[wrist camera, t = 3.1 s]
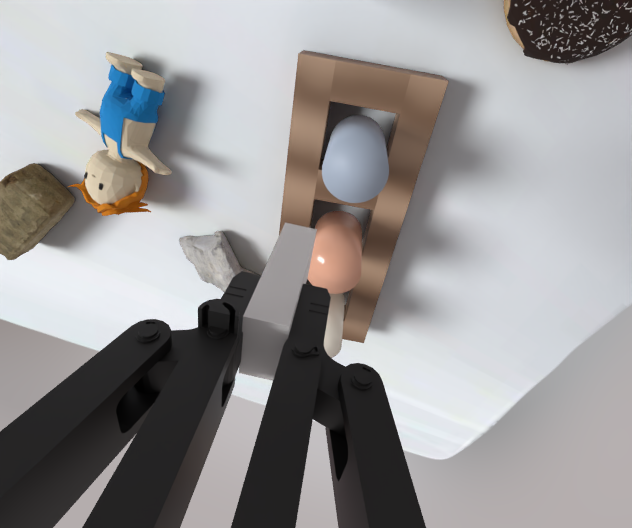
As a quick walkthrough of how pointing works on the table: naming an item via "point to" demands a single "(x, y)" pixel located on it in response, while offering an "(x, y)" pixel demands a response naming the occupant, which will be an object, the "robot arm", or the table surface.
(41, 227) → the stone block
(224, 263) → the stone
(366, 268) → the wooden compartment tray
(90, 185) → the toy
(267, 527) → the robot arm
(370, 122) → the cap slate
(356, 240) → the cap terracotta
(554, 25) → the donut
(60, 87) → the table surface
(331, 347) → the white rounded cylinder
